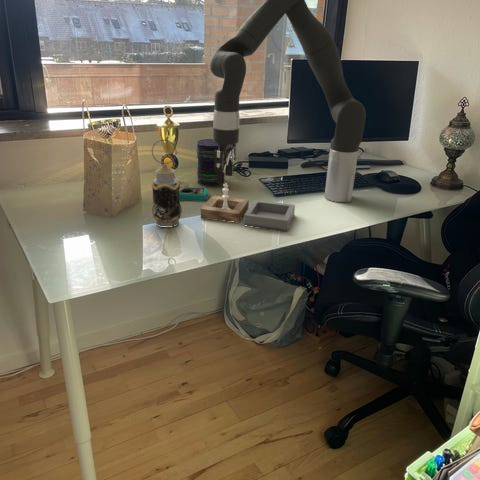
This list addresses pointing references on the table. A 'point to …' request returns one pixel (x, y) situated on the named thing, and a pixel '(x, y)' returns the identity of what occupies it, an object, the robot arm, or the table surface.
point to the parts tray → (269, 215)
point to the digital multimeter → (193, 194)
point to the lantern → (166, 195)
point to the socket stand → (216, 211)
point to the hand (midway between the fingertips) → (224, 179)
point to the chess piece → (225, 196)
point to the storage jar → (206, 162)
